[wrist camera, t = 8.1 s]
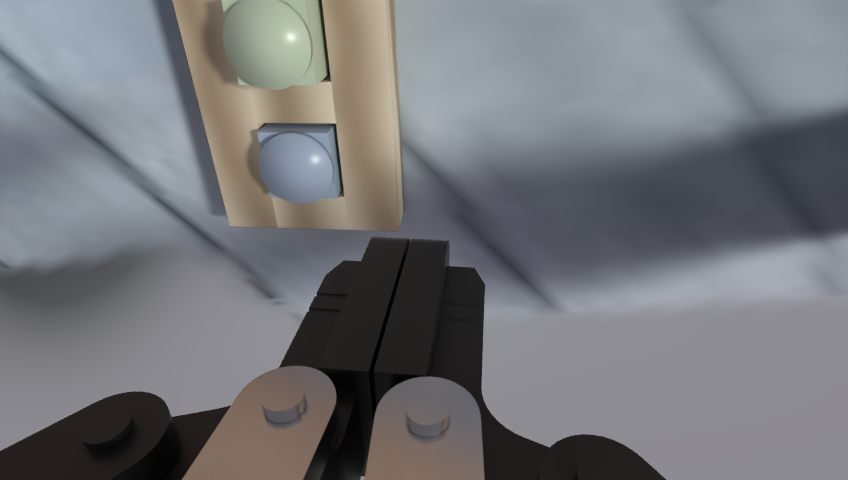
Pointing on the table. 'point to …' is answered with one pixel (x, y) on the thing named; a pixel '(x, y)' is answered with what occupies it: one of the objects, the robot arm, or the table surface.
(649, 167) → the table surface
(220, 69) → the button panel
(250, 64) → the sage button
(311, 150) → the slate button
